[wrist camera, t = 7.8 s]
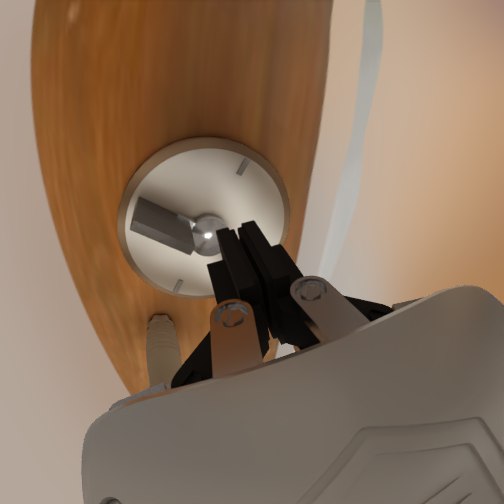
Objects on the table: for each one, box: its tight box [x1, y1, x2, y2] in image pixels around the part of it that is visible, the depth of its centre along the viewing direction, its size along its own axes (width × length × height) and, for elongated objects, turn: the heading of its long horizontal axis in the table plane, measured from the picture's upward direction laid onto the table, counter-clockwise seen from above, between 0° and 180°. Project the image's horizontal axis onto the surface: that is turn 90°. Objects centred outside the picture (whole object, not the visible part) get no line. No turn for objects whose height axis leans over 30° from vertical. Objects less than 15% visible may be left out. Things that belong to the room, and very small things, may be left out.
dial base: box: [117, 136, 290, 299], centre depth 28 cm, size 17×17×3 cm
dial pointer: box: [130, 197, 227, 257], centre depth 24 cm, size 14×4×5 cm, turn 55°
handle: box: [146, 314, 182, 388], centre depth 28 cm, size 5×6×15 cm
